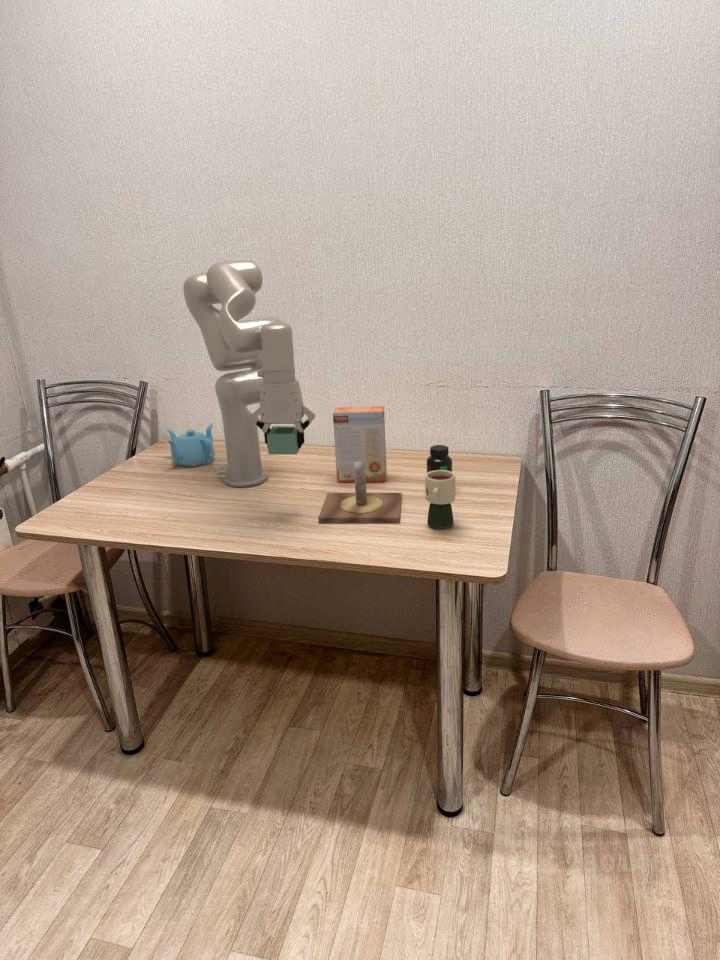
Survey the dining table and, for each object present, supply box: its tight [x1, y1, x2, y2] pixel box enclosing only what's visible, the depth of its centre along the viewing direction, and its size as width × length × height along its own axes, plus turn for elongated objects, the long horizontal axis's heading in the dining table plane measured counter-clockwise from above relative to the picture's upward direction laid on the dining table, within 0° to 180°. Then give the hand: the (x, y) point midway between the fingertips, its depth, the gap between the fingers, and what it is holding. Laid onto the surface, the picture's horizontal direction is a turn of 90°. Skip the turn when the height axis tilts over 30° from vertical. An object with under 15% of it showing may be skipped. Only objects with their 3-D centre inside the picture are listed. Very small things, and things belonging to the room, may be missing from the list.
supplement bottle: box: [426, 444, 453, 473], centre depth 187 cm, size 7×7×12 cm
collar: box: [267, 425, 301, 455], centre depth 171 cm, size 7×7×5 cm
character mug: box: [424, 470, 456, 529], centre depth 165 cm, size 11×7×13 cm, turn 159°
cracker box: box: [332, 405, 388, 483], centre depth 195 cm, size 14×6×21 cm, turn 84°
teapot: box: [165, 422, 216, 467], centre depth 218 cm, size 15×15×10 cm
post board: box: [318, 461, 403, 524], centre depth 176 cm, size 20×16×13 cm
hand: (285, 445), depth 172 cm, fingers closed on collar, 7 cm apart
